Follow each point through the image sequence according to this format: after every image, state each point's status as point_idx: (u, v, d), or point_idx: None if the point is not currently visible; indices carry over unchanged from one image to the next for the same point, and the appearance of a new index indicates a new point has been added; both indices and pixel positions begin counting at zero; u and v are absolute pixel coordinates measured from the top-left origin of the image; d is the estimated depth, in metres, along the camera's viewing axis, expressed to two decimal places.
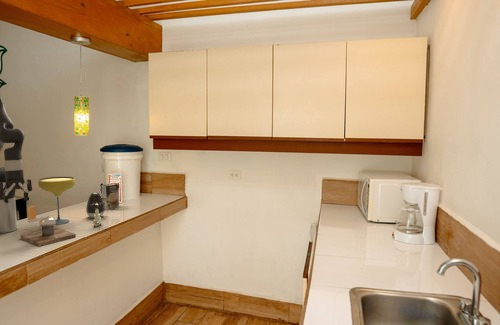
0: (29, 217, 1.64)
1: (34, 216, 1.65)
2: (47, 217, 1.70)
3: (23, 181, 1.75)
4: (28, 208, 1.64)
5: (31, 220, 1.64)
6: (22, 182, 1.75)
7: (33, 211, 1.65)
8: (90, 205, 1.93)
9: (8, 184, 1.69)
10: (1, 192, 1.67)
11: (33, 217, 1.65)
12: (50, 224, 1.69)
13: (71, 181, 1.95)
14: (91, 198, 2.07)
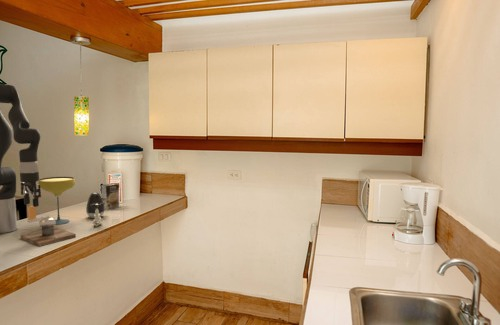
0: (29, 217, 1.64)
1: (34, 216, 1.65)
2: (47, 217, 1.70)
3: None
4: (28, 208, 1.64)
5: (31, 220, 1.64)
6: None
7: (33, 211, 1.65)
8: (90, 205, 1.93)
9: None
10: None
11: (33, 217, 1.65)
12: (50, 224, 1.69)
13: (71, 181, 1.95)
14: (91, 198, 2.07)
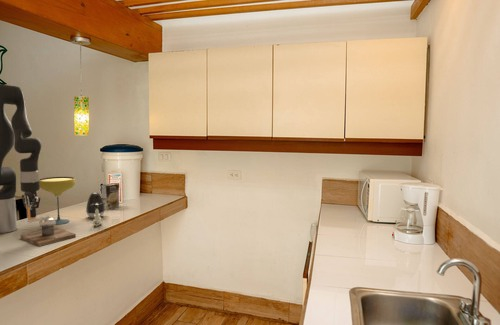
0: (29, 217, 1.64)
1: None
2: (47, 217, 1.70)
3: None
4: (28, 208, 1.64)
5: (31, 220, 1.64)
6: None
7: None
8: (90, 205, 1.93)
9: None
10: None
11: (33, 217, 1.65)
12: (50, 224, 1.69)
13: (71, 181, 1.95)
14: (91, 198, 2.07)
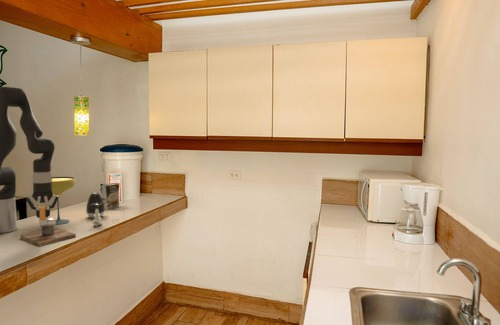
0: (43, 218, 1.63)
1: (46, 216, 1.65)
2: (49, 217, 1.71)
3: None
4: (41, 209, 1.63)
5: (45, 220, 1.64)
6: None
7: None
8: (90, 205, 1.93)
9: None
10: None
11: (46, 217, 1.65)
12: (55, 222, 1.72)
13: (71, 181, 1.95)
14: (91, 198, 2.07)
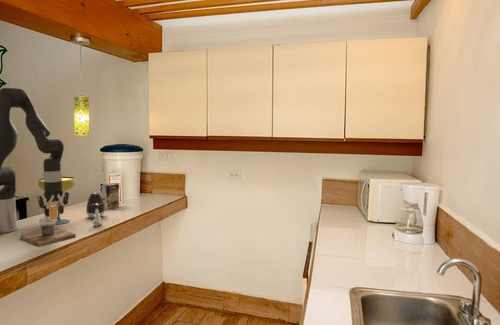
0: (55, 216, 1.66)
1: None
2: None
3: None
4: (54, 207, 1.65)
5: None
6: None
7: None
8: (90, 205, 1.93)
9: None
10: None
11: None
12: None
13: (71, 181, 1.95)
14: (91, 198, 2.07)
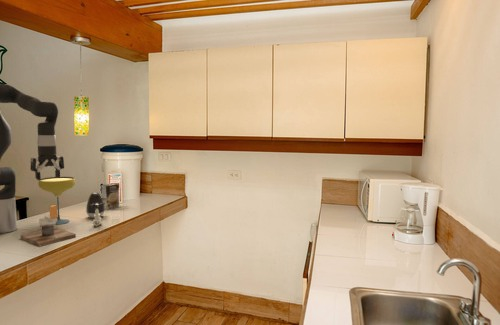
0: (55, 216, 1.66)
1: None
2: None
3: None
4: (54, 207, 1.65)
5: None
6: None
7: None
8: (90, 205, 1.93)
9: None
10: None
11: None
12: None
13: (71, 181, 1.95)
14: (91, 198, 2.07)
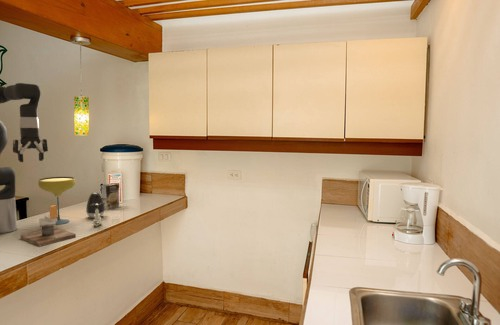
0: (55, 216, 1.66)
1: None
2: None
3: None
4: (54, 207, 1.65)
5: None
6: None
7: None
8: (90, 205, 1.93)
9: None
10: None
11: None
12: None
13: (71, 181, 1.95)
14: (91, 198, 2.07)
